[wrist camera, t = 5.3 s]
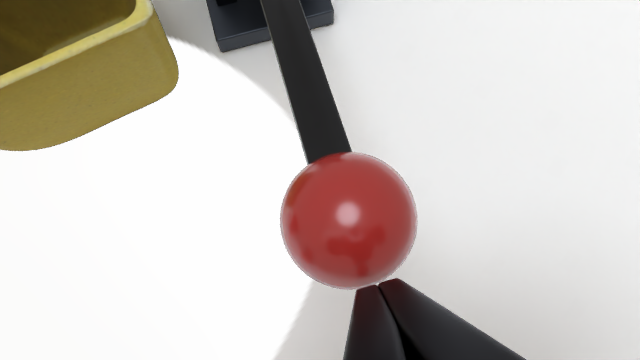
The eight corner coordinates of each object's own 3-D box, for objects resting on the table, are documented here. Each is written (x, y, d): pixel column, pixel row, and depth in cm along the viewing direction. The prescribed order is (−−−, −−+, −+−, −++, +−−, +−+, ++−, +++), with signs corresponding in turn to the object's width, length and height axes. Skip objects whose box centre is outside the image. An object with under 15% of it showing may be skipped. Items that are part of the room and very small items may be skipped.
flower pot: (219, 113, 24) (156, 14, 15) (55, 190, 23) (-110, 134, 15) (152, -25, 26) (61, -186, 17) (-2, 43, 25) (-180, -88, 16)
